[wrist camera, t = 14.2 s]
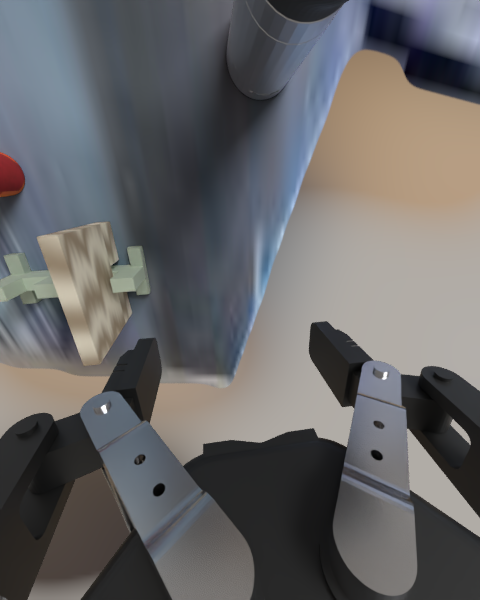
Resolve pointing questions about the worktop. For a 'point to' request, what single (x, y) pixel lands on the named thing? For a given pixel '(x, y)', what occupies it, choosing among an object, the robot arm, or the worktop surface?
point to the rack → (41, 285)
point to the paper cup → (10, 176)
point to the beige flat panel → (87, 286)
